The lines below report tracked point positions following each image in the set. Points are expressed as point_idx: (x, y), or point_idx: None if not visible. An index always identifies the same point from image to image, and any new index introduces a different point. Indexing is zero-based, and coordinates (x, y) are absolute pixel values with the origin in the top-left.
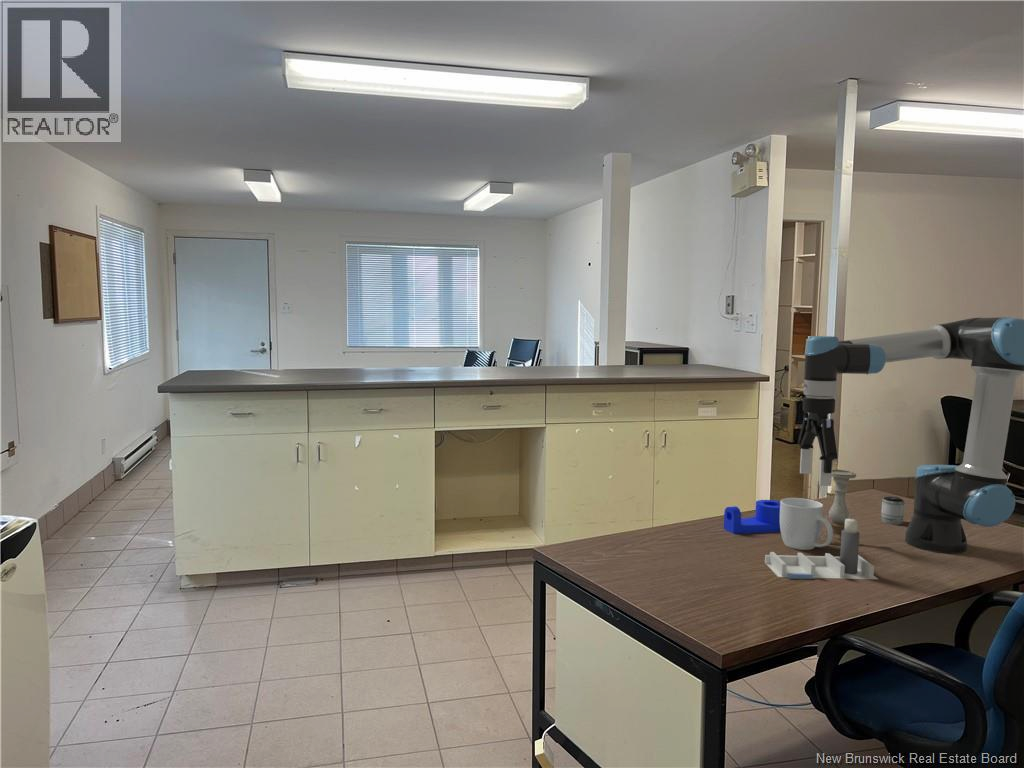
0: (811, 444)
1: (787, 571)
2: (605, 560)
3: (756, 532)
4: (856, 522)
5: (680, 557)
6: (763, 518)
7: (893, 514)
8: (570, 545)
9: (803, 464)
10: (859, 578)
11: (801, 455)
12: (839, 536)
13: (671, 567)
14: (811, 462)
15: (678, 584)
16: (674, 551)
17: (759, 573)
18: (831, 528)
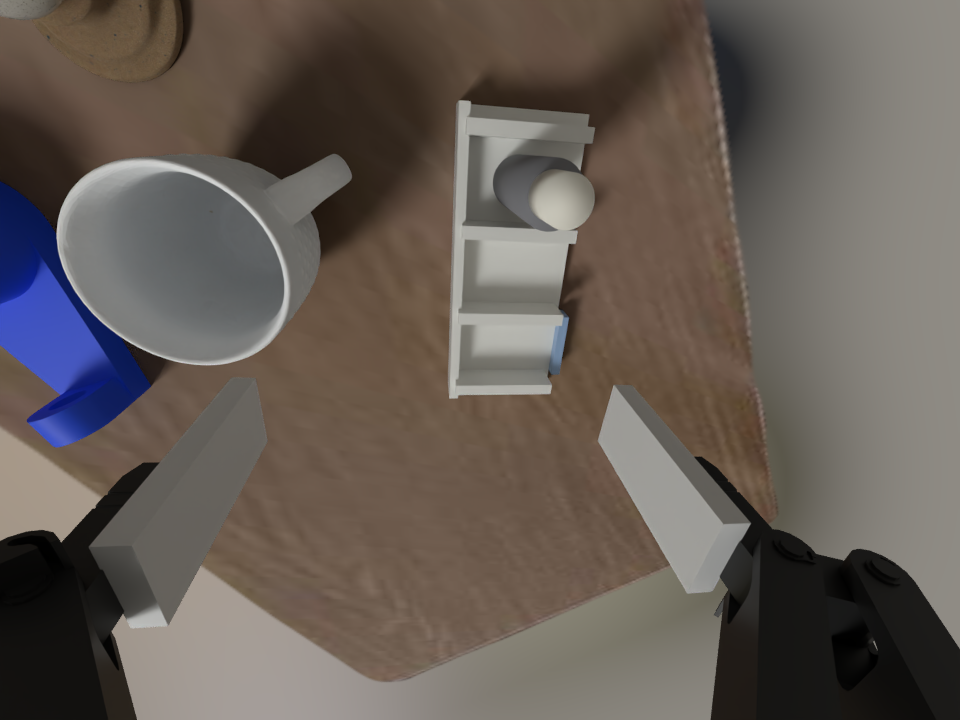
0: (92, 629)
1: (512, 355)
2: (428, 619)
3: None
4: (592, 187)
5: (399, 524)
6: (15, 293)
7: None
8: (353, 658)
9: (238, 477)
10: None
11: (197, 559)
12: (132, 6)
13: (460, 542)
14: (216, 436)
15: (545, 539)
16: (360, 530)
17: (495, 405)
18: (335, 165)
